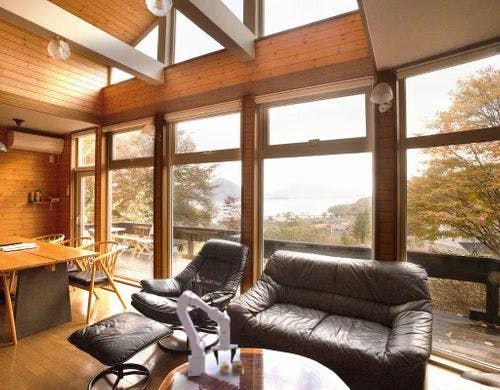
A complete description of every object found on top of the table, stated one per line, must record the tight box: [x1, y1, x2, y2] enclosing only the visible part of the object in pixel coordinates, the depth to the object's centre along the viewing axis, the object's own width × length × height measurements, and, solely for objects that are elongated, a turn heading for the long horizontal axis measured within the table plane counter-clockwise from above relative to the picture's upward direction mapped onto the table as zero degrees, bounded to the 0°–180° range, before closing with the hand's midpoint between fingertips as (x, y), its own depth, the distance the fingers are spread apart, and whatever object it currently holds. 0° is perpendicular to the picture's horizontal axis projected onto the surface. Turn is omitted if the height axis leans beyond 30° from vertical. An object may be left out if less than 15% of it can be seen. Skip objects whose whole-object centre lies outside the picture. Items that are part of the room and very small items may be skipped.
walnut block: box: [231, 360, 243, 373], centre depth 165 cm, size 5×5×4 cm
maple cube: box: [219, 360, 230, 375], centre depth 164 cm, size 4×4×4 cm
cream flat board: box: [229, 366, 245, 375], centre depth 165 cm, size 11×8×1 cm
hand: (224, 363), depth 164 cm, fingers open, 7 cm apart
